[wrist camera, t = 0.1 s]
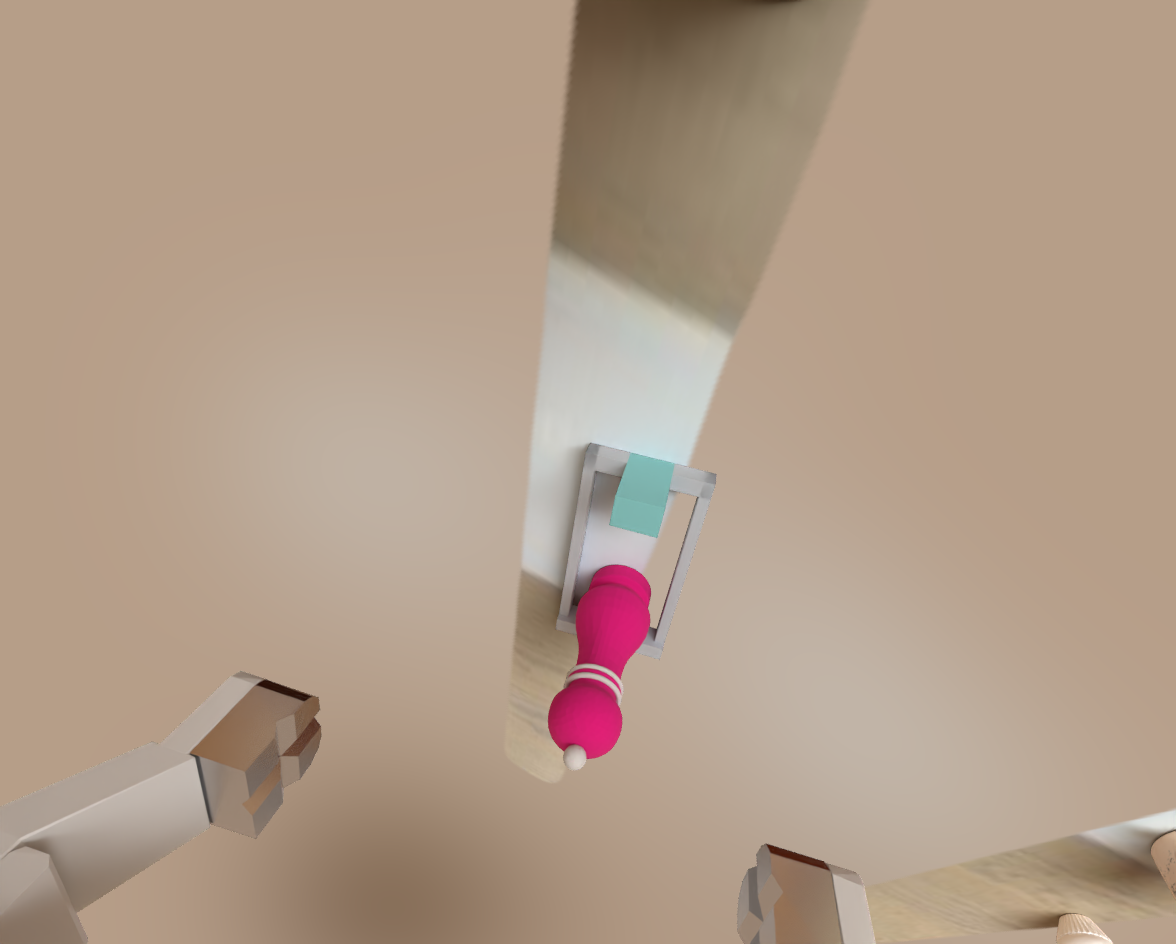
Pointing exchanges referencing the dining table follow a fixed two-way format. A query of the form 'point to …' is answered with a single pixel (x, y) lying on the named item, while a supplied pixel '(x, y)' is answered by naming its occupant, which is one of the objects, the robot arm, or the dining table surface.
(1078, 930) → the small white lidded pot
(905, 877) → the dining table surface
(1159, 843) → the teacup with lid
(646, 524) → the grey rectangular frame
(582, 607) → the pepper mill
